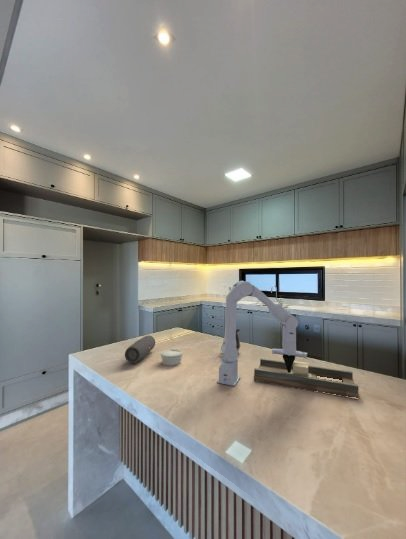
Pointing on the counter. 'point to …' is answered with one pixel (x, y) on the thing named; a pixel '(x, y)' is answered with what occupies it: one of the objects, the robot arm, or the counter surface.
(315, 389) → the walled deck
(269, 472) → the counter surface
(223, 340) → the pump dispenser
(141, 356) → the bluetooth speaker
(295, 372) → the maple block
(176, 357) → the ramekin
